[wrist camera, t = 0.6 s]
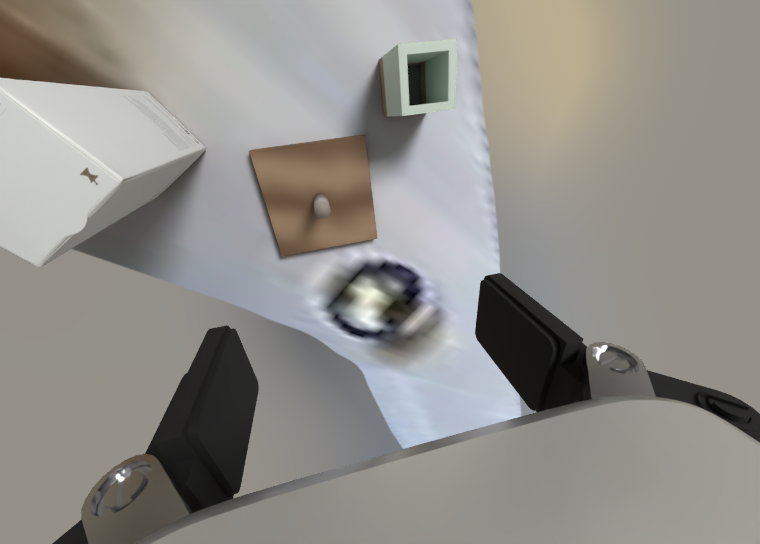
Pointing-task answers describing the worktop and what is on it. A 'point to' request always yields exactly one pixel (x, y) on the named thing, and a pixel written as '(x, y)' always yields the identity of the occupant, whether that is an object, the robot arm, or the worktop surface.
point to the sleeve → (434, 77)
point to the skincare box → (80, 162)
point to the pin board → (317, 193)
